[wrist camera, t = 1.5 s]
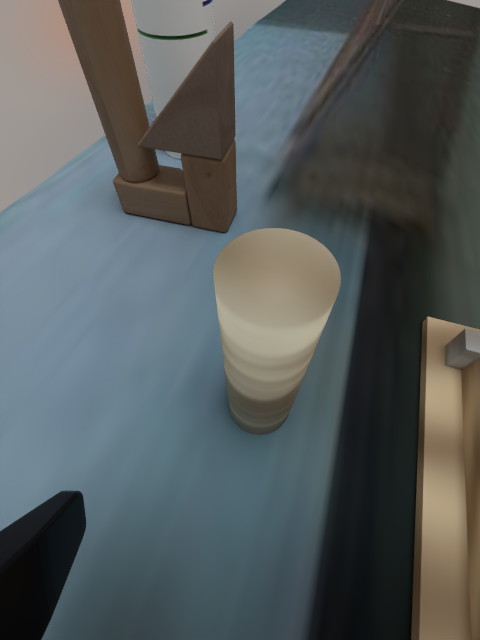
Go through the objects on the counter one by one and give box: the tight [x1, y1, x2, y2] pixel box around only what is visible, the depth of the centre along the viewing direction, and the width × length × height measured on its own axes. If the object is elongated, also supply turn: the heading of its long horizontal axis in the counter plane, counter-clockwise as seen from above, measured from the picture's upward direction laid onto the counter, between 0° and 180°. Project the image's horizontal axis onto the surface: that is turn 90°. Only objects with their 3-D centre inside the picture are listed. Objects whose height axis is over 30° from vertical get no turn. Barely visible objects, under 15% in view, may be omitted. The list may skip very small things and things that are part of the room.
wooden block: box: [58, 0, 237, 232], centre depth 24 cm, size 4×11×18 cm, turn 74°
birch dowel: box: [213, 228, 341, 434], centre depth 15 cm, size 4×4×13 cm
